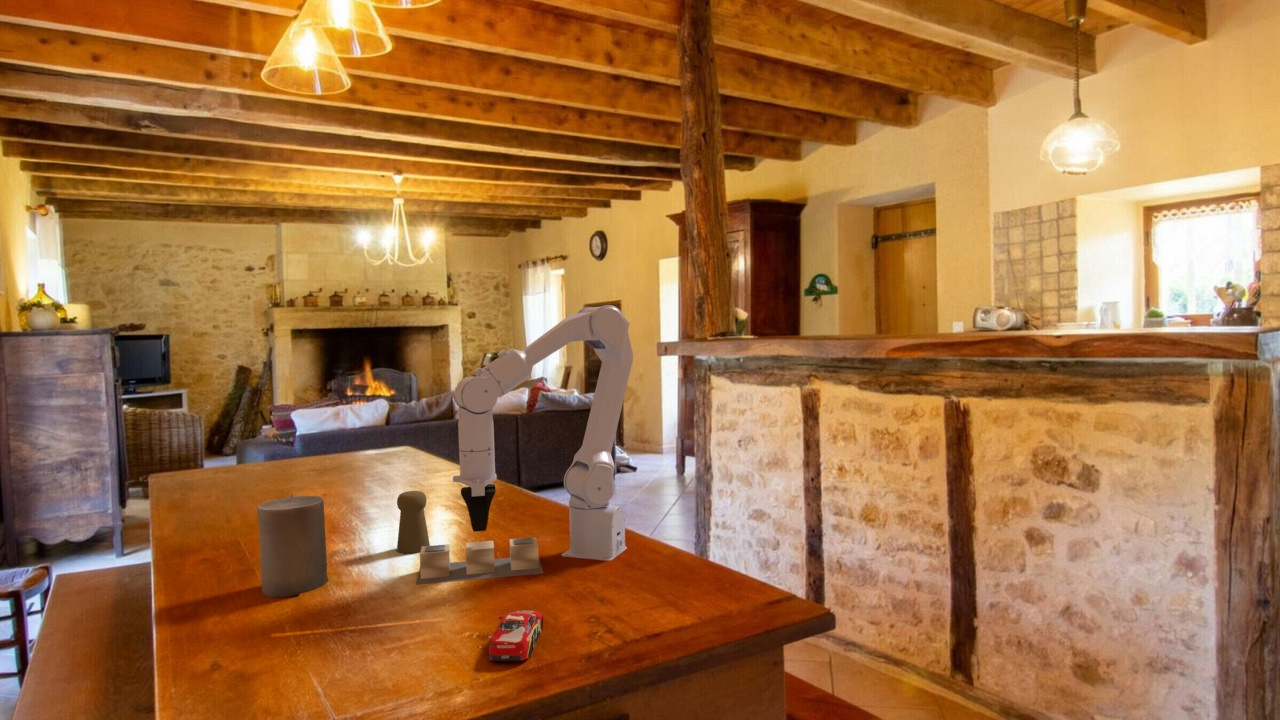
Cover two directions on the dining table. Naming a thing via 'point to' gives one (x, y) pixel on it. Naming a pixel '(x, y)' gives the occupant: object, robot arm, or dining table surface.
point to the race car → (516, 636)
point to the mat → (460, 573)
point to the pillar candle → (292, 545)
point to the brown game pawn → (412, 522)
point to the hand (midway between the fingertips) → (479, 530)
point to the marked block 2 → (524, 553)
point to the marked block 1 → (435, 561)
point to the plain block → (480, 557)
